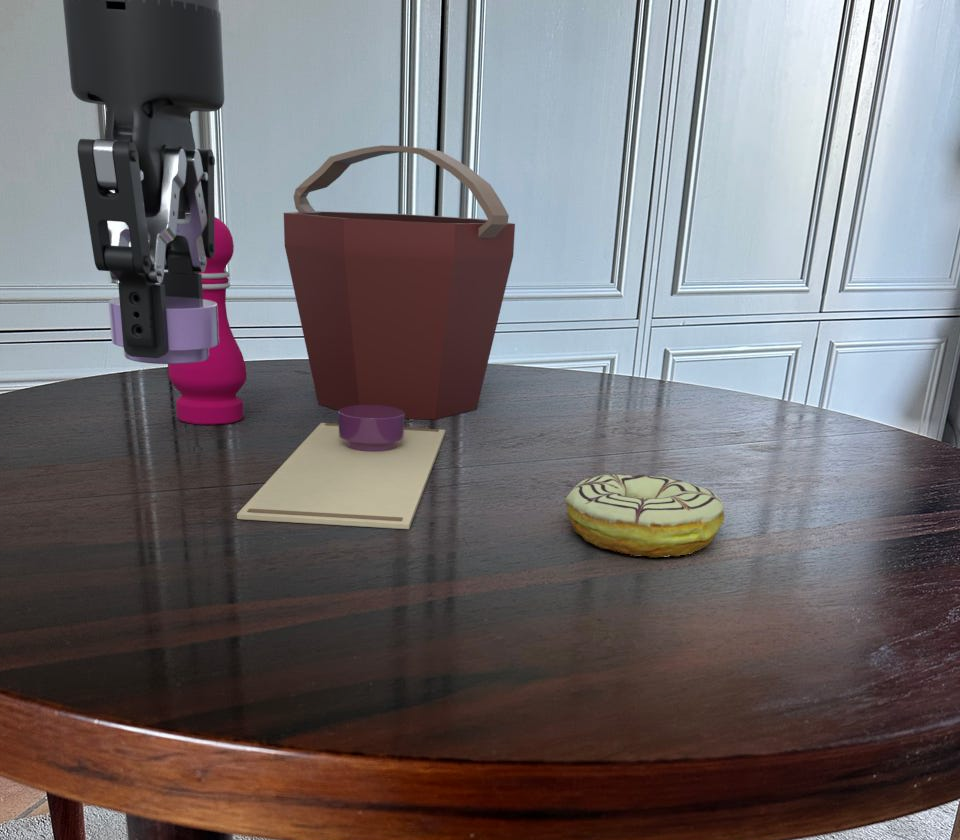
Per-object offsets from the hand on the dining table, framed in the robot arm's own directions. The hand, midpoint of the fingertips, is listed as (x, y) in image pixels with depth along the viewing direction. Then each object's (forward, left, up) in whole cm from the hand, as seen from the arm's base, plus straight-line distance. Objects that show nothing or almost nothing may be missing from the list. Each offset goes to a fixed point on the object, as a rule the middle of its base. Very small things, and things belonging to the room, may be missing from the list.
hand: (166, 346), depth 58 cm
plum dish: (+7, +31, -12) cm, 34 cm away
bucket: (+7, +53, -13) cm, 55 cm away
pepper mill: (-10, +40, -13) cm, 43 cm away
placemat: (+7, +24, -13) cm, 28 cm away
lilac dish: (0, 0, -1) cm, 1 cm away
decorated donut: (+29, +10, -13) cm, 33 cm away
